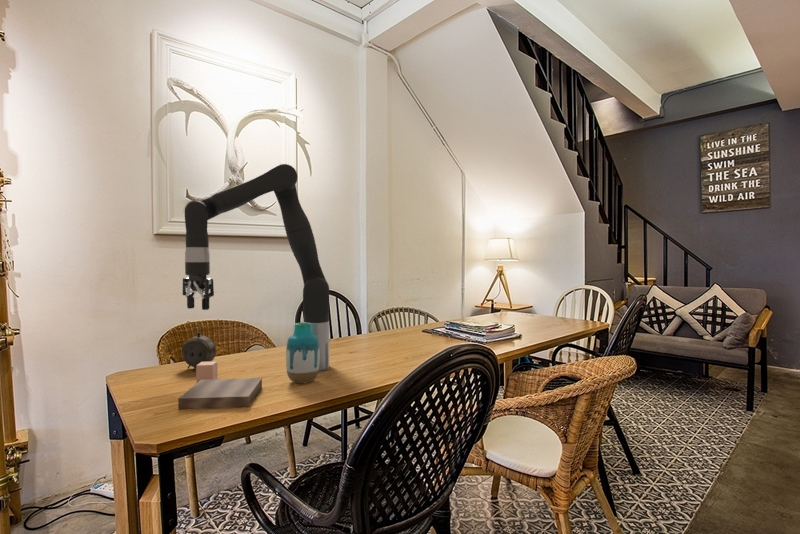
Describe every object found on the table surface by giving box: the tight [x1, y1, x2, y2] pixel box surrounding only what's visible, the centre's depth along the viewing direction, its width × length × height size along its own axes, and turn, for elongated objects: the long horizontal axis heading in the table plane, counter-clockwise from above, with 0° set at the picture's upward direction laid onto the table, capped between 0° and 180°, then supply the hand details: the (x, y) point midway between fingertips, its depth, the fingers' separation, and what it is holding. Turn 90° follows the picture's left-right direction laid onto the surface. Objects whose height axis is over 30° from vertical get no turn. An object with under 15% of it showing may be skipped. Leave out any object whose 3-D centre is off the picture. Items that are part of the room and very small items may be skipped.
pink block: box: [195, 360, 218, 384], centre depth 141 cm, size 5×5×6 cm
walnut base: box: [177, 377, 263, 411], centre depth 124 cm, size 18×18×3 cm
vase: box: [285, 321, 320, 384], centre depth 141 cm, size 11×11×19 cm
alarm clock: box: [181, 324, 217, 372], centre depth 156 cm, size 11×5×16 cm, turn 84°
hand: (198, 309), depth 146 cm, fingers open, 8 cm apart
